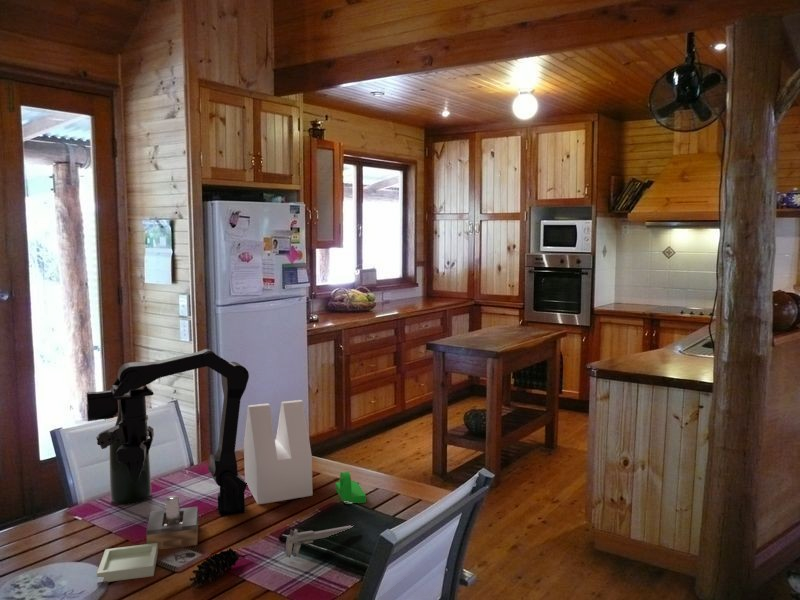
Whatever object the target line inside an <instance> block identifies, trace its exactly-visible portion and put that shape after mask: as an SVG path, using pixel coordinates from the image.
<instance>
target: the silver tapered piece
mask: <svg viewBox="0 0 800 600" xmlns="http://www.w3.org/2000/svg"><path fill="white" fill-rule="evenodd" d="M179 508H180V496H178V495H169V496H167V497H166V498H165V510H166V519H167V524H163V526H166V525H174V524H182V522H180V512H179Z"/></svg>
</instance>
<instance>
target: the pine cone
mask: <svg viewBox="0 0 800 600" xmlns="http://www.w3.org/2000/svg"><path fill="white" fill-rule="evenodd" d="M251 555H252V553H247V554H244V555H243V554H240V553H239V552H238V551H236V550H233V549H232V548H231V547H230V548H228V549H227V550H221V551H220V552H219V553H214V554H212V555H211V556H210V557H206V558H205V560H203V561H202V562H201V563H200V564H197V565H196V567H197V568H198V569H194V570H192V574H194V575H195V576H194V577H189V579H188V580H189V582H192V583H191V584H190V585H189V587H192V589H194V588H195V587H196V586H198V587H200V586H202V587H204V586H205V584H207V583H209V584H210V583H212V582H215V581H216V579H217V575H219V576H223V575H224V572H225V570H228V571H231V570H232V567H233V566H234V567H236V563H237V562H238V560H240V558H244V559H245V558H246V557H248V556H251Z"/></svg>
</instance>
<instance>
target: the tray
mask: <svg viewBox="0 0 800 600" xmlns="http://www.w3.org/2000/svg"><path fill="white" fill-rule="evenodd" d="M158 554H159V550H158V543H152V544H147V543H144V544H139V545H130V546H121V547H114V548H105V550H104V552H103V555H102V558H101V561H100V563H99V566H98V569H97V571H96V578H97V577H104V579H105V580H106V581H107V582H106V583H108V582H110V583H111V582H116V581H125V580H131V579H133V580H134V579H139V578H140V579H141V578H147V577H148V578H149V577H154V574H155V571H156V564H157V559H158Z"/></svg>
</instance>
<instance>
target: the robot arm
mask: <svg viewBox="0 0 800 600" xmlns="http://www.w3.org/2000/svg"><path fill="white" fill-rule="evenodd" d="M205 367H208V368H210V369H211V370H213V371H215V372H216V373H218V374H220V379H221V380H220V381H221V386H222V387H221V389H222V393H223V403H222V411H221V421H220V429H219V437H218V438H219V440H218V448H217V450H216V453H215V454H210V455H209V466H208V467H207V470H208V472H209V473H210V476H211V477H212V479H213V481H214V482H215V483H216V485H218V487H219V492H218V493H217V512H219V517H225V516H234V515H243V514H246V503H245V502H246V501H245V497H246V496H245V491H246V488H247V487H248V486H247V484H246V482H245V479H243V477H242V476H241V475H240V474H239V472H238V461H237V457H236V443H237V442H236V441H237V435H238V425H239V418H240V417H239V416H240V409H241V408H240V407H241V399H242V397H243V395H244V393H245V391H246V388H247V385H248V382H249V378H250V373H249V371H248V369H247V368H246V367H245V366H243V365H242V364H240V363H239V362H237V361H230V362H229V361H228V360H226V359H224V358H222V357H221V356H219V355H218V354H216V353H215V352H214V351H213V350H211V349H209V348H205V349H202V350H198V351H195V352H191V353H187V354H183V355H178V356H173V357H170V358H166V359H162V360H158V361H157V360H156V361H133V362H132V361H131V362H126V363H123V364H122V365H121V366H120V367H119V369H118V371H117V378H116V380H115V381H114V383H112V384H111V387H110V388H109V389H110V390H109V389H108V390H103V391H88V392H86V403H87V404H86V415H87V422H93V421H100V420H108V419H109V420H110V419H115V418H114V417H115V416H117V414H118V408H119V399H120V405H121V422H120V423H119V425H117V426H115V425H114V426H112V427H110V428H108V429H106V430H103V431H101V432H99V433H98V435H97V436H96V444H97V445H98V446H100V448H101V450H104V449H107V448H108V447H110V445H112V444H114V443H116V442H118V441H120V444H122V445H121V446H120V447H119V448H118V450H117V452H116V461H118V462H119V463H123V464H125V465H126V467H127V469H128V472H129V475H130V477H131V480H132V483H138V480H139V477H140V474H141V470H143V468H144V465H145V462H146V459H147V456H148V453H149V454H150V449H151V446H152V443H153V441H154V436H155V432H154V428H153V427H151V425H148V421H149V415H148V414H147V406H146V405H147V403H146V397H150V396H153V395H154V394H155V393H154V392H153V390H152V389H150V388H149V387H148V386H147V385H149V384H151V383H153V382H155V381H156V380H158V379H161V378H164V377H169V376H173V375H177V374H180V373H185V372H189V371H193V370H197V369H201V368H205ZM128 391H129V393H127V392H128ZM123 443H127V444H123Z"/></svg>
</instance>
